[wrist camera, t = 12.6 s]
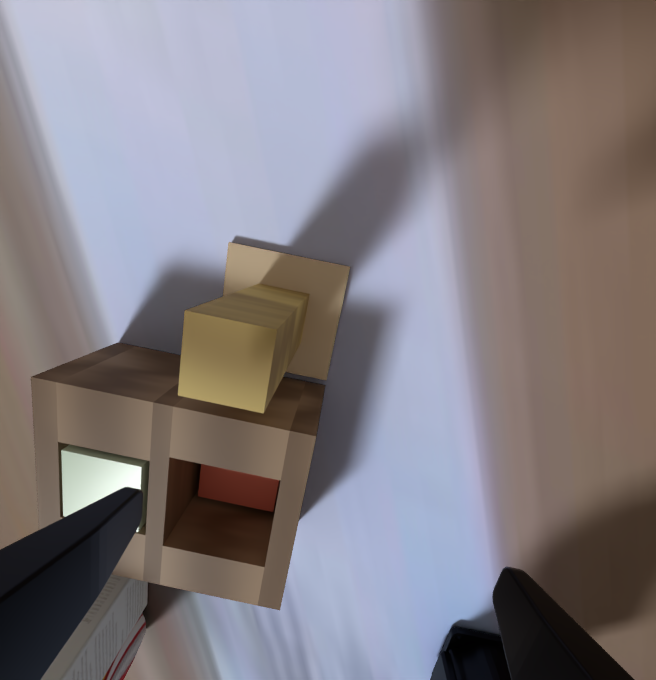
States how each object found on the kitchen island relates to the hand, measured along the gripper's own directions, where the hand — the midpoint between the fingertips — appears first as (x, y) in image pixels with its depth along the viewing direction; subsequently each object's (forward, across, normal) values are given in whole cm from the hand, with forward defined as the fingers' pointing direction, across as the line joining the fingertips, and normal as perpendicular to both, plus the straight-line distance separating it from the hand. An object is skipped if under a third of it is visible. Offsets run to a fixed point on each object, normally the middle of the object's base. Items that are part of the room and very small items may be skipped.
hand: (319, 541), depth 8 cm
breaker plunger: (+13, +5, +7) cm, 15 cm away
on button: (+10, +11, +7) cm, 16 cm away
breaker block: (+13, +7, +7) cm, 16 cm away
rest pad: (+13, +4, -2) cm, 14 cm away
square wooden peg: (+13, +4, -2) cm, 13 cm away
